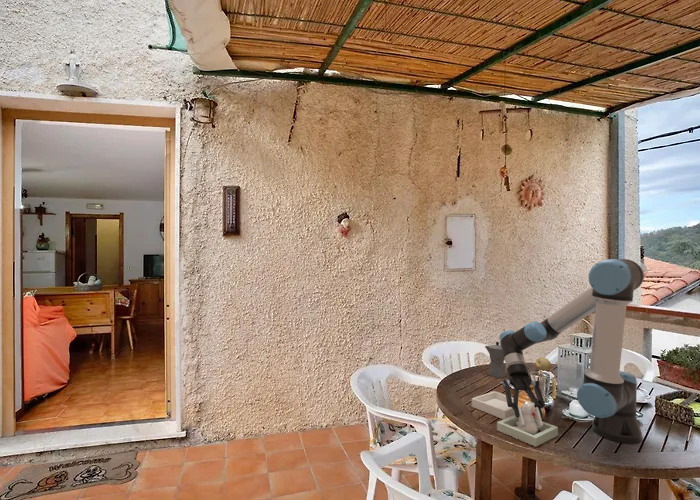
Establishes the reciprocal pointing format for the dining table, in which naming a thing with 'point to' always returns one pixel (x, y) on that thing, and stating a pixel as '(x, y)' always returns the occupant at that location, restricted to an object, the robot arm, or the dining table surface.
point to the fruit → (543, 364)
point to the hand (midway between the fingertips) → (531, 426)
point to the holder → (535, 440)
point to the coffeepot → (496, 361)
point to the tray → (493, 404)
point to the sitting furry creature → (528, 419)
